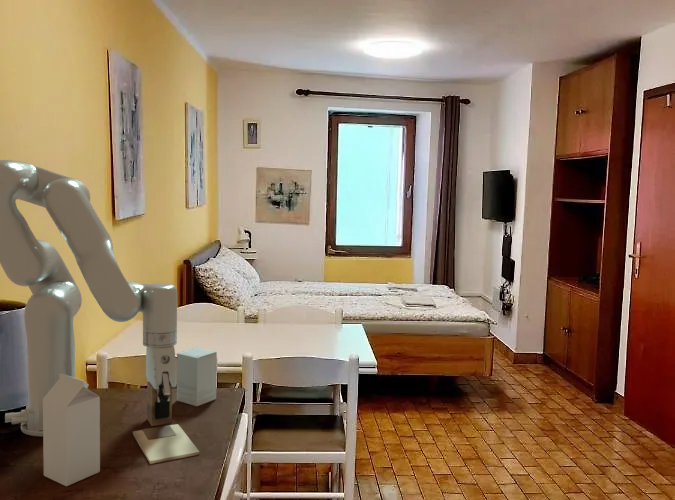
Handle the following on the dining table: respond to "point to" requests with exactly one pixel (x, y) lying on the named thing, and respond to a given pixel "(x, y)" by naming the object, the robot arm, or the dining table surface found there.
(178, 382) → the supplement box
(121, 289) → the robot arm
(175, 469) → the dining table surface
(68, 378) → the milk carton
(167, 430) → the board
